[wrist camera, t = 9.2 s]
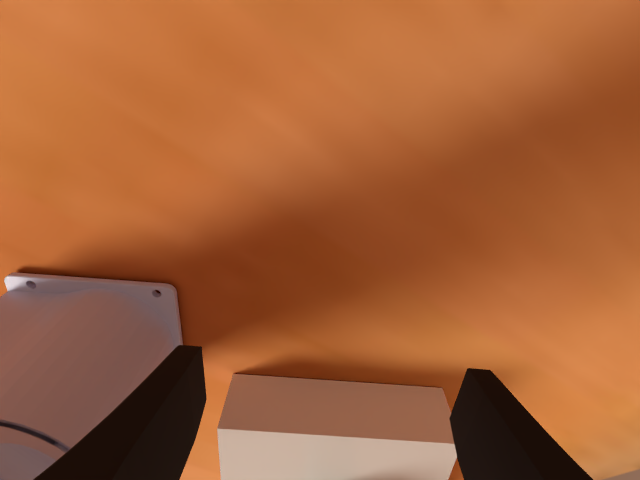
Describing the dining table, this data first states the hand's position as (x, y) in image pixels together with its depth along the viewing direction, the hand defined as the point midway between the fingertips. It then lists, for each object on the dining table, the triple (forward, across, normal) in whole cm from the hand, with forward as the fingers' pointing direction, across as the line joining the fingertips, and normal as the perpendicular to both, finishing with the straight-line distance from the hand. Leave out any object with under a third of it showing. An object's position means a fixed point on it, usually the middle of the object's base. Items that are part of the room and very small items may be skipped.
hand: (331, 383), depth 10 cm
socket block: (+10, -2, +18) cm, 21 cm away
